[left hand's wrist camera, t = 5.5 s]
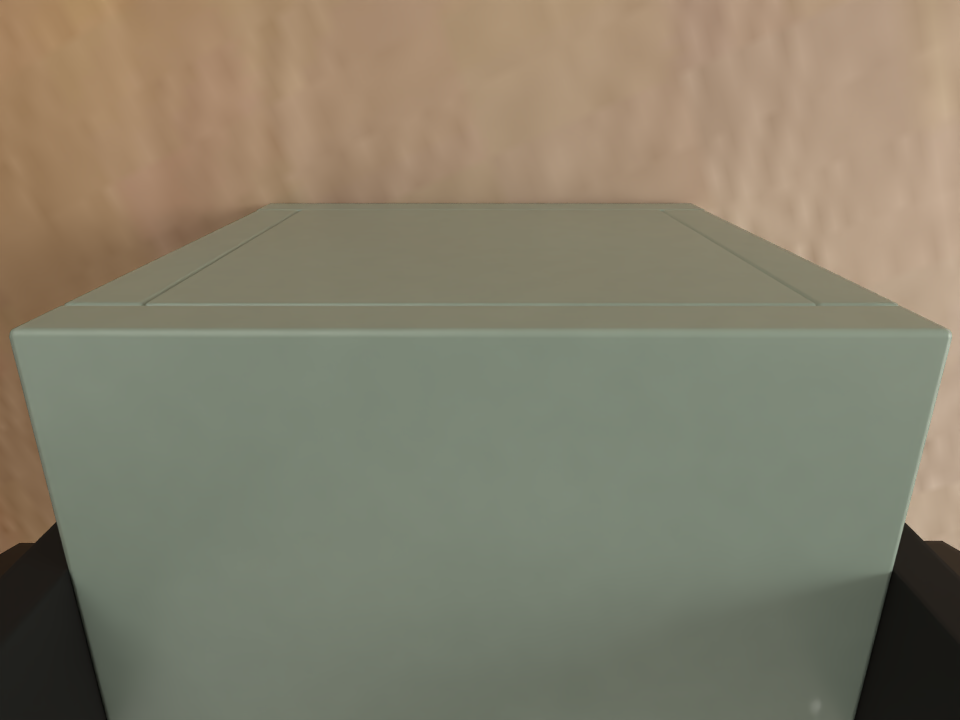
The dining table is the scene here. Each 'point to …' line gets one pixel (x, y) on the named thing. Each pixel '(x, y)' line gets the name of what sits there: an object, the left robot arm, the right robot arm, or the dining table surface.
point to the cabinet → (480, 467)
